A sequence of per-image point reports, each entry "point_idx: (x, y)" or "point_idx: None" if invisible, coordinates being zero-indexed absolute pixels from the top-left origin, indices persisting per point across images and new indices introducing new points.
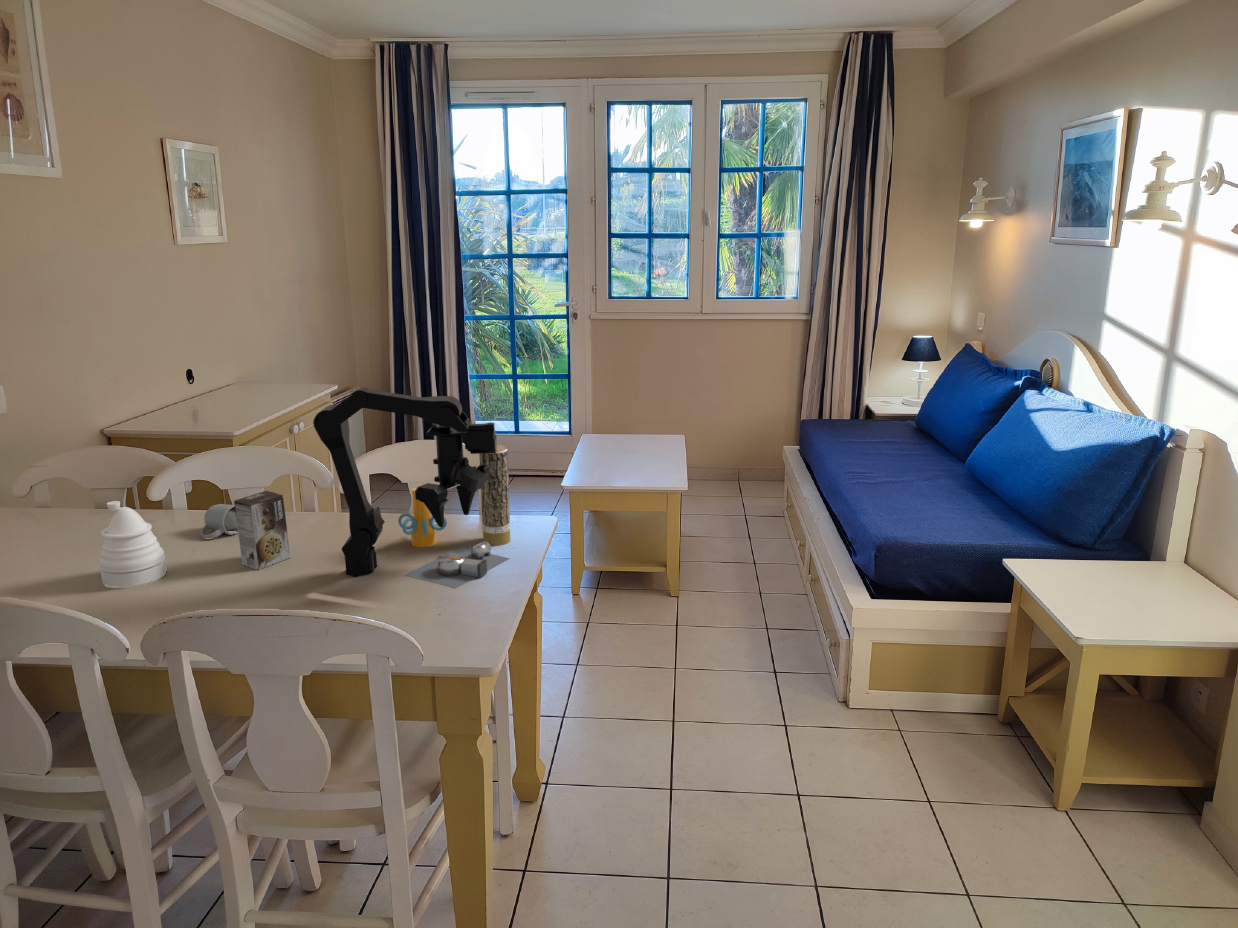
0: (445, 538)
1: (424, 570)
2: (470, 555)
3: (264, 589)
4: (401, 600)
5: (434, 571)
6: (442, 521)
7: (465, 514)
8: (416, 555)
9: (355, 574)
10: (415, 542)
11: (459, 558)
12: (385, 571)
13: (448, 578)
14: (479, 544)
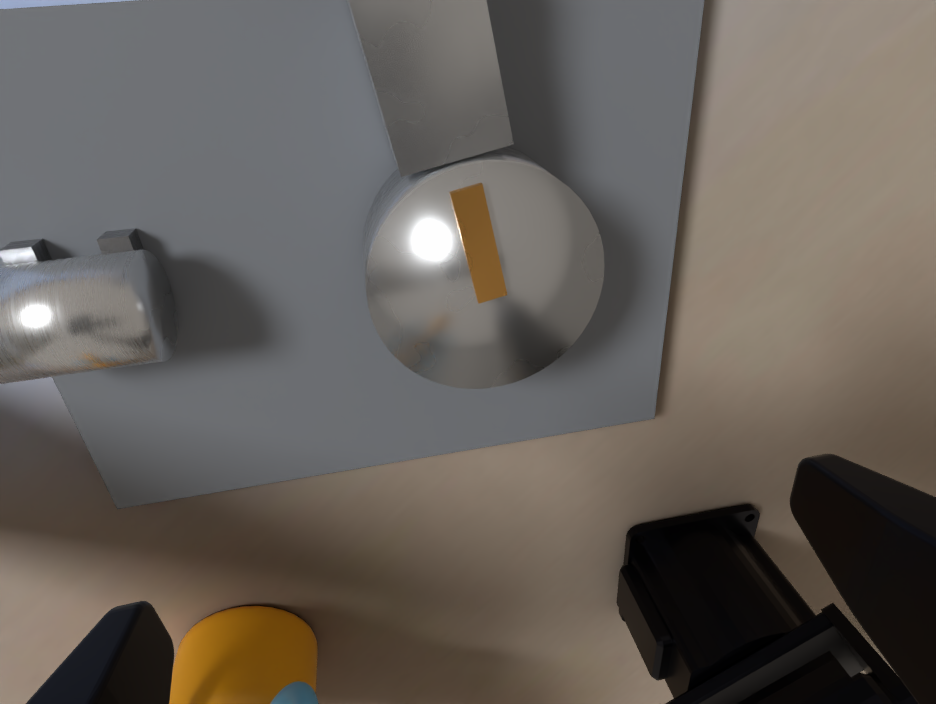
0: None
1: (547, 386)
2: None
3: None
4: (890, 195)
5: None
6: (923, 505)
7: (162, 629)
8: (363, 586)
9: (764, 552)
10: (314, 675)
11: (469, 209)
12: (602, 530)
13: (580, 163)
14: (69, 339)
